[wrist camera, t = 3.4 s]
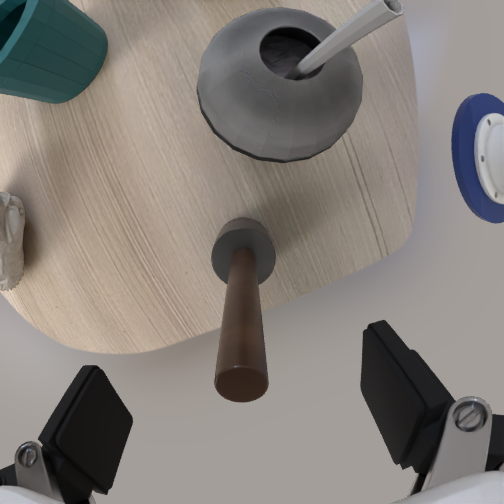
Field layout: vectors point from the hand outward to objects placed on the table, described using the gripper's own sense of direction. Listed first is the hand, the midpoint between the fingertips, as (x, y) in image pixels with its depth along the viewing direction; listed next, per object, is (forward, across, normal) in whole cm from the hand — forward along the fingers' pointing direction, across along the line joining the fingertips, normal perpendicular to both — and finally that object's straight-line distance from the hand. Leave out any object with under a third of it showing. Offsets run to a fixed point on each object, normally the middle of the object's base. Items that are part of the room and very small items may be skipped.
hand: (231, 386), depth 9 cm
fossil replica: (+17, +25, -7) cm, 32 cm away
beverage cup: (+17, -4, -10) cm, 20 cm away
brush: (+17, -1, 0) cm, 17 cm away
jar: (+17, +13, -23) cm, 32 cm away
